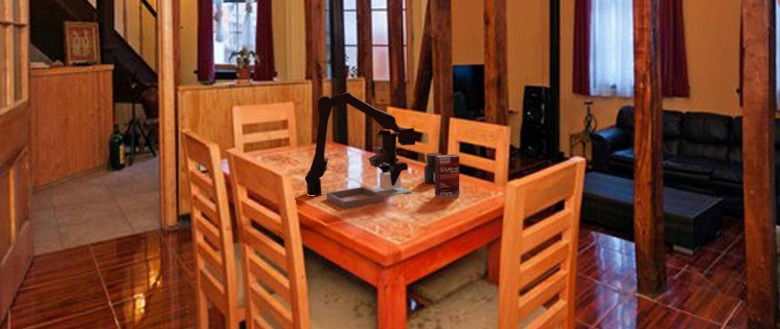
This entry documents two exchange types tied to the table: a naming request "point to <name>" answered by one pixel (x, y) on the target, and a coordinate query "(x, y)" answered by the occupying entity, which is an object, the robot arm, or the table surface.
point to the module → (388, 181)
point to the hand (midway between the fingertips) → (390, 184)
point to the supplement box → (447, 176)
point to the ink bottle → (430, 168)
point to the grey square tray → (354, 197)
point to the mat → (391, 191)
